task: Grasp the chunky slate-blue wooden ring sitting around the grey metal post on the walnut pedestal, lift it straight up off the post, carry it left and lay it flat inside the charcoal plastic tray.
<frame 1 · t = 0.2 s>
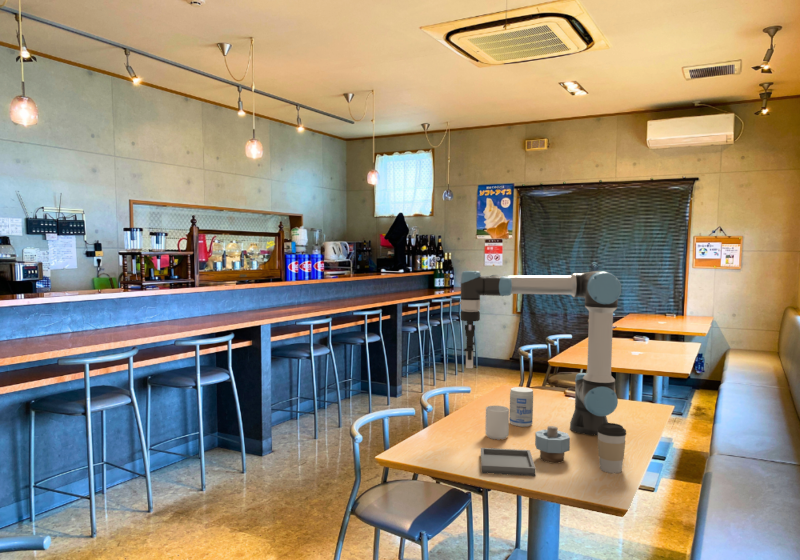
hand: (469, 364, 219), 28 cm above the table, fingers open, 13 cm apart
mug: (498, 436, 219), on the table
ring: (552, 447, 194), point 4 cm above the table, touching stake
supplement tub: (520, 424, 235), on the table
coffee cup: (610, 469, 185), on the table
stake: (551, 458, 194), on the table
tray: (506, 464, 188), on the table
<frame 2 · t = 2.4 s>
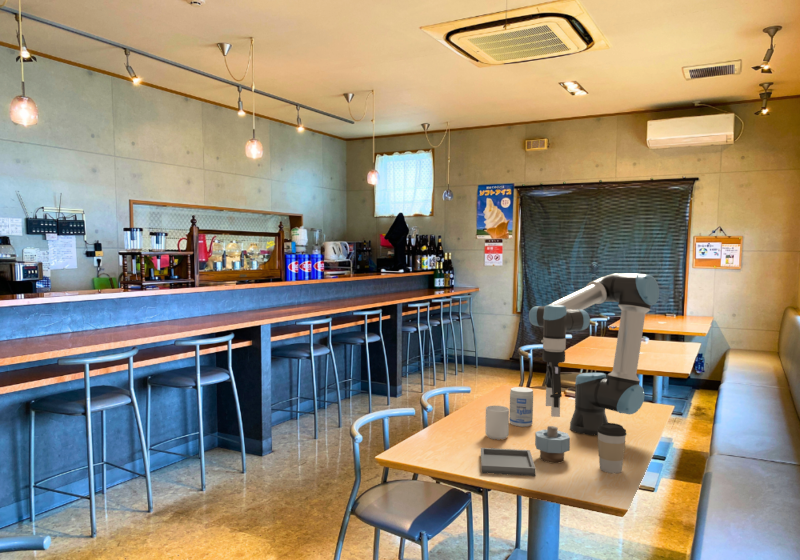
hand: (552, 411, 194), 17 cm above the table, fingers open, 13 cm apart
nothing on the table moved.
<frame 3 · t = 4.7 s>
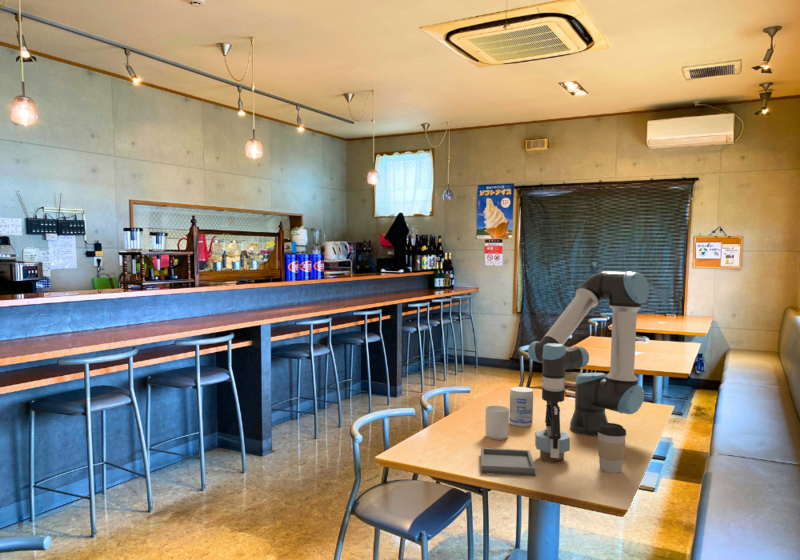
hand: (552, 451, 194), 3 cm above the table, fingers closed on ring, 11 cm apart
ring: (552, 447, 194), point 4 cm above the table, touching gripper, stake
everything else where it was.
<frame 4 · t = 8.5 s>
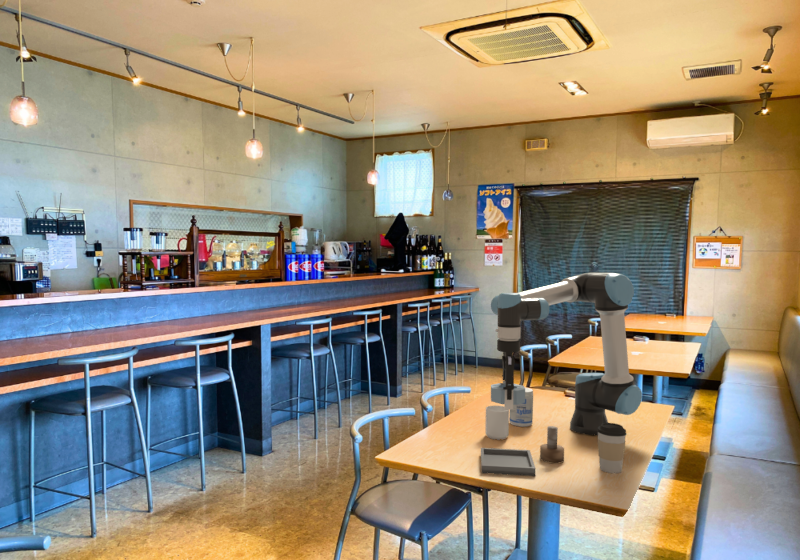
hand: (507, 404, 188), 21 cm above the table, fingers closed on ring, 11 cm apart
ring: (507, 400, 188), point 22 cm above the table, touching gripper
everything else where it was.
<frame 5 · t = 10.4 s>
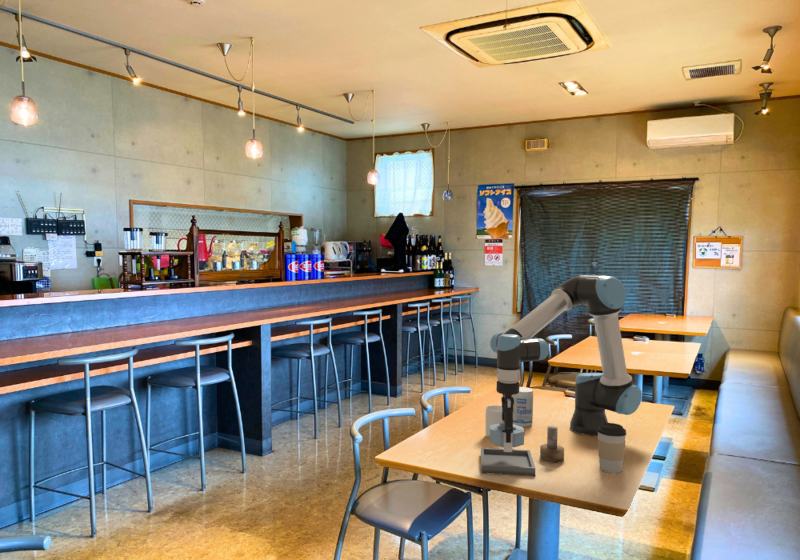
hand: (506, 445, 188), 7 cm above the table, fingers closed on ring, 11 cm apart
ring: (506, 441, 188), point 8 cm above the table, touching gripper
everything else where it was.
when the fingers open (2 cm above the table, at t = 12.2 s): ring drops 3 cm, resting on tray.
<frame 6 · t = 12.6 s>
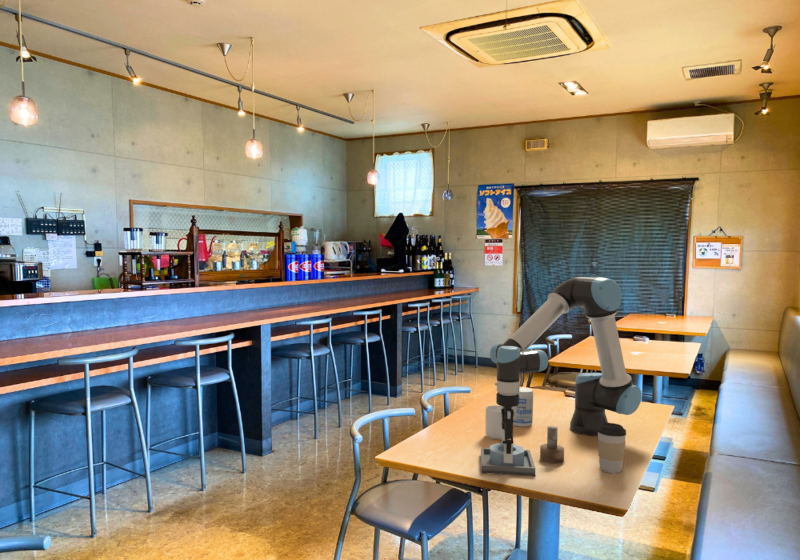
hand: (506, 455, 188), 3 cm above the table, fingers open, 13 cm apart
ring: (506, 461, 188), point 1 cm above the table, touching tray
everything else where it was.
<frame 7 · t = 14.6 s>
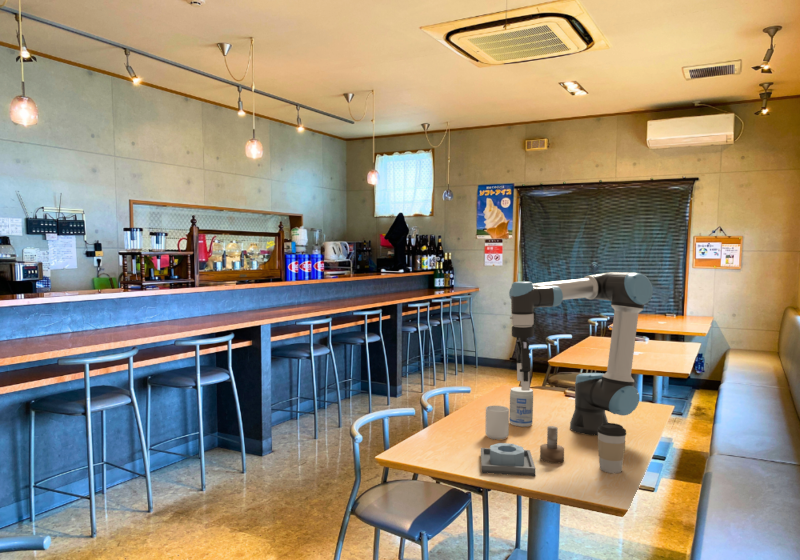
hand: (523, 385, 198), 25 cm above the table, fingers open, 13 cm apart
nothing on the table moved.
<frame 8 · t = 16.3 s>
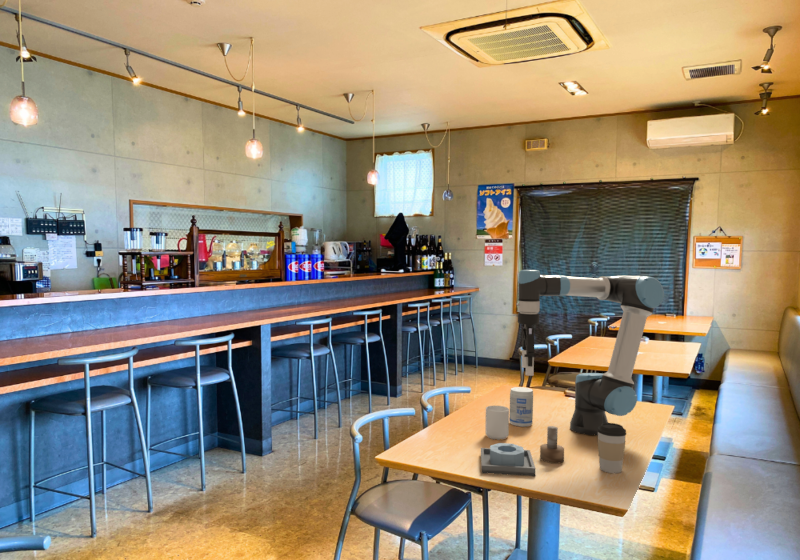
hand: (527, 371, 202), 29 cm above the table, fingers open, 13 cm apart
nothing on the table moved.
at the end: ring inside the target area on the tray (0.1 cm from its centre), point 1.0 cm above the tray's base; ring tilted 0°; the gripper is holding nothing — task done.
